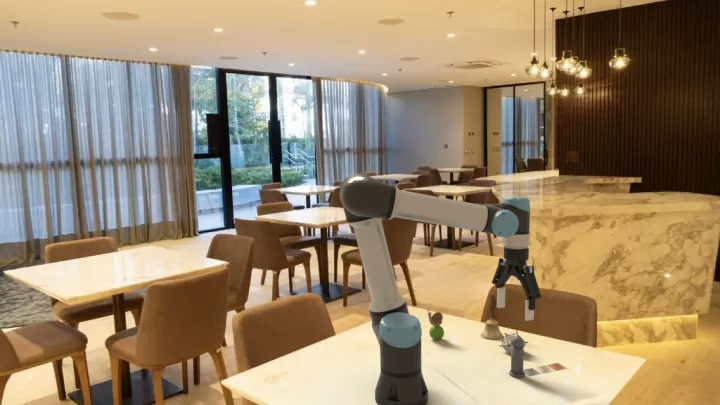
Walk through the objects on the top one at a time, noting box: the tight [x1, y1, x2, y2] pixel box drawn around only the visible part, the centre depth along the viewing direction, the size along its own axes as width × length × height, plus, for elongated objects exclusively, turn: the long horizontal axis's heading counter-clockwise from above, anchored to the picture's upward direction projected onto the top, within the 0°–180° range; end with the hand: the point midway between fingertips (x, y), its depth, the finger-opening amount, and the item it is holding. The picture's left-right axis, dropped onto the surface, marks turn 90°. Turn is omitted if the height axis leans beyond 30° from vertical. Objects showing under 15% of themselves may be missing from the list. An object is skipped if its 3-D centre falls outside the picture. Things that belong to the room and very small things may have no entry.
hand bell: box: [480, 293, 504, 341], centre depth 201 cm, size 8×8×16 cm
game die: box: [499, 330, 529, 356], centre depth 183 cm, size 9×8×10 cm
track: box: [506, 362, 568, 380], centre depth 168 cm, size 21×7×1 cm, turn 110°
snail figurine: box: [427, 308, 445, 341], centre depth 199 cm, size 5×6×12 cm
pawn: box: [508, 336, 526, 379], centre depth 165 cm, size 5×5×12 cm
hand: (514, 313), depth 169 cm, fingers open, 13 cm apart
